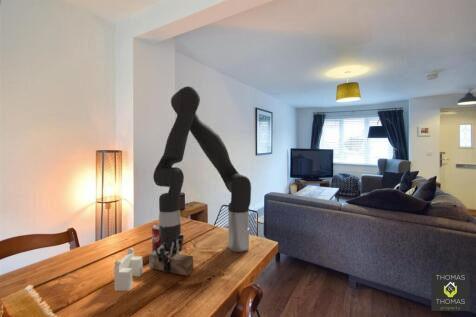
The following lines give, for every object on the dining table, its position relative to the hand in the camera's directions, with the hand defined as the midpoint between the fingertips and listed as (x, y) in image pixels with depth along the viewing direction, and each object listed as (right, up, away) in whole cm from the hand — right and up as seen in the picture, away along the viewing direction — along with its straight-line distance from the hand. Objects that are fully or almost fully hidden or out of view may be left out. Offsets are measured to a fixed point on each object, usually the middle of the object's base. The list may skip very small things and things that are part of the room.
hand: (171, 267), depth 84 cm
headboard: (-13, -2, -6) cm, 14 cm away
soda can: (-8, -1, +14) cm, 17 cm away
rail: (0, 0, 0) cm, 0 cm away
